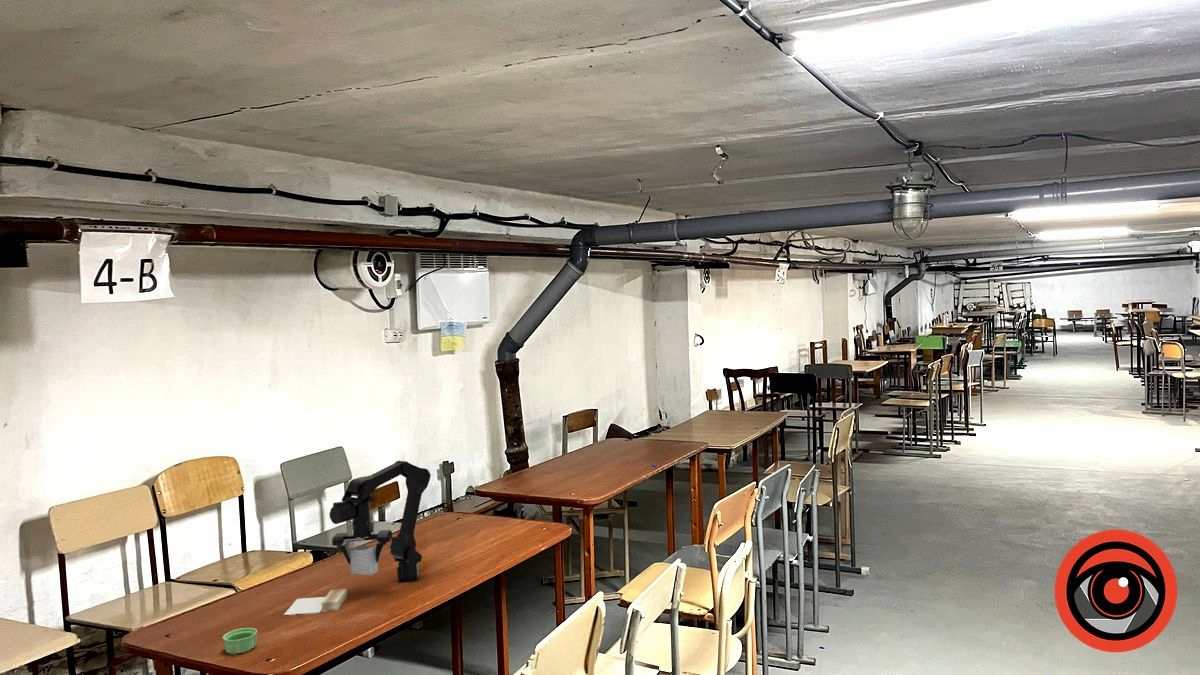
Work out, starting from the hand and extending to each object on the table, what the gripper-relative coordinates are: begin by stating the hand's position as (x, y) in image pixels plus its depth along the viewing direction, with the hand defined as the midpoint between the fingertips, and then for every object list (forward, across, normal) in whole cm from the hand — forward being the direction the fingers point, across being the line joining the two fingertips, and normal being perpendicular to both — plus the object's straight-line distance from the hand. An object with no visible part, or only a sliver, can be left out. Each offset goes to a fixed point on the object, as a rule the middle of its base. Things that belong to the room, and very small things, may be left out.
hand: (363, 563), depth 269 cm
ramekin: (+11, +27, +38) cm, 48 cm away
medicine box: (+4, 0, 0) cm, 4 cm away
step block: (+11, +8, +7) cm, 15 cm away
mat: (+11, +17, +7) cm, 21 cm away
